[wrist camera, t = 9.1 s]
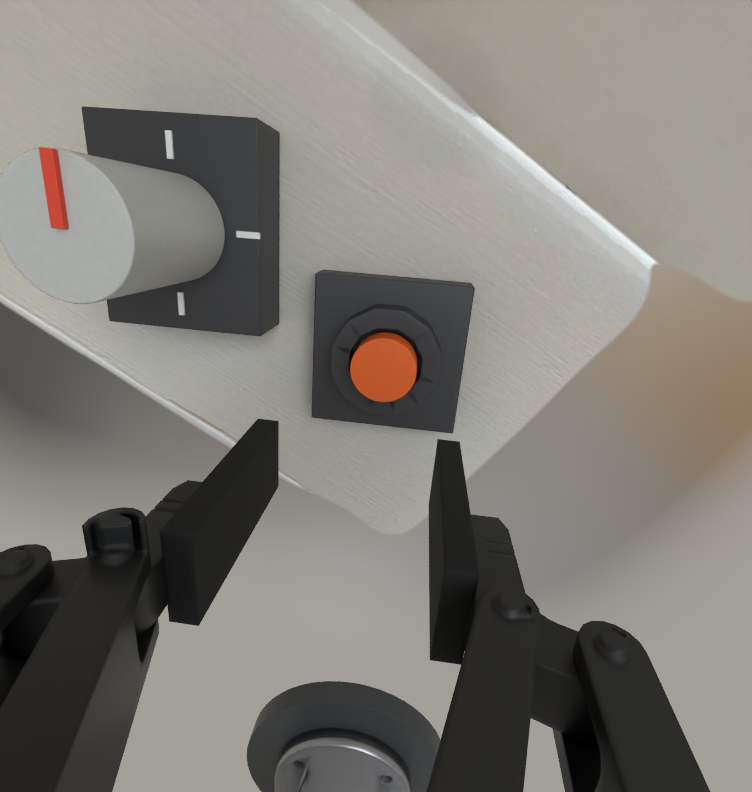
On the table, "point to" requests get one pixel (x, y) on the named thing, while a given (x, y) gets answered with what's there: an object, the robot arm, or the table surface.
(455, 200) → the table surface
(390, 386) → the power button
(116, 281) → the timer dial
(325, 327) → the button base
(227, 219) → the dial panel
